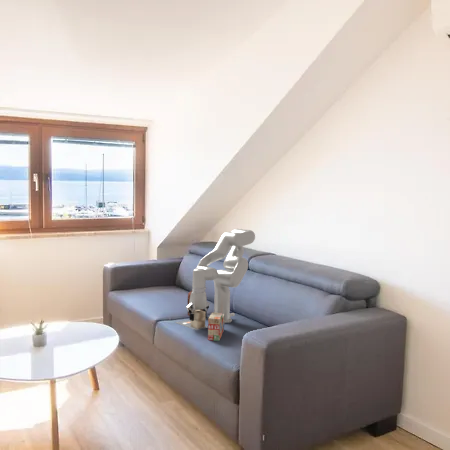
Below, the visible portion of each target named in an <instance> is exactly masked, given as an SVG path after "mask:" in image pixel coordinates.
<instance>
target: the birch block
mask: <svg viewBox="0 0 450 450" xmlns="http://www.w3.org/2000/svg"><path fill="white" fill-rule="evenodd" d="M193 314H194V321H191V327H194V328H197V329H198V328H203V327H205V325H206V318H205V315H206V312H205V311H202V310H195V311H194V313H193Z"/></svg>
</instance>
